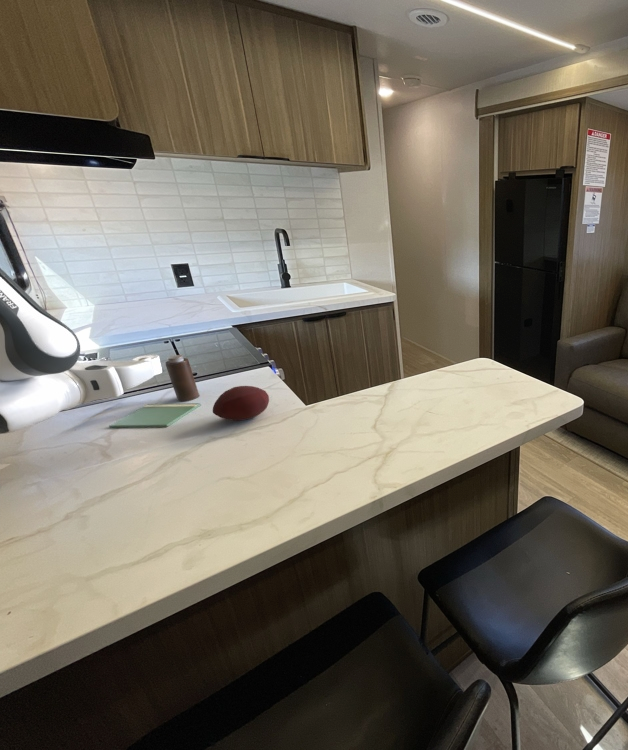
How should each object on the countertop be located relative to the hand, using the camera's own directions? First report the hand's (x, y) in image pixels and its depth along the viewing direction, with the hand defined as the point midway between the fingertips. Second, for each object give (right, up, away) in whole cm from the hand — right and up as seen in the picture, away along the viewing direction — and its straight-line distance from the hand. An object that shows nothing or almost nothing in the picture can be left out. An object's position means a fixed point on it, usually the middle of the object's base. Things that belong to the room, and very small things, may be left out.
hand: (128, 360), depth 95 cm
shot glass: (-22, -5, +32) cm, 39 cm away
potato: (+24, -15, +6) cm, 29 cm away
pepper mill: (0, -10, +18) cm, 20 cm away
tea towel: (0, -14, +8) cm, 16 cm away
